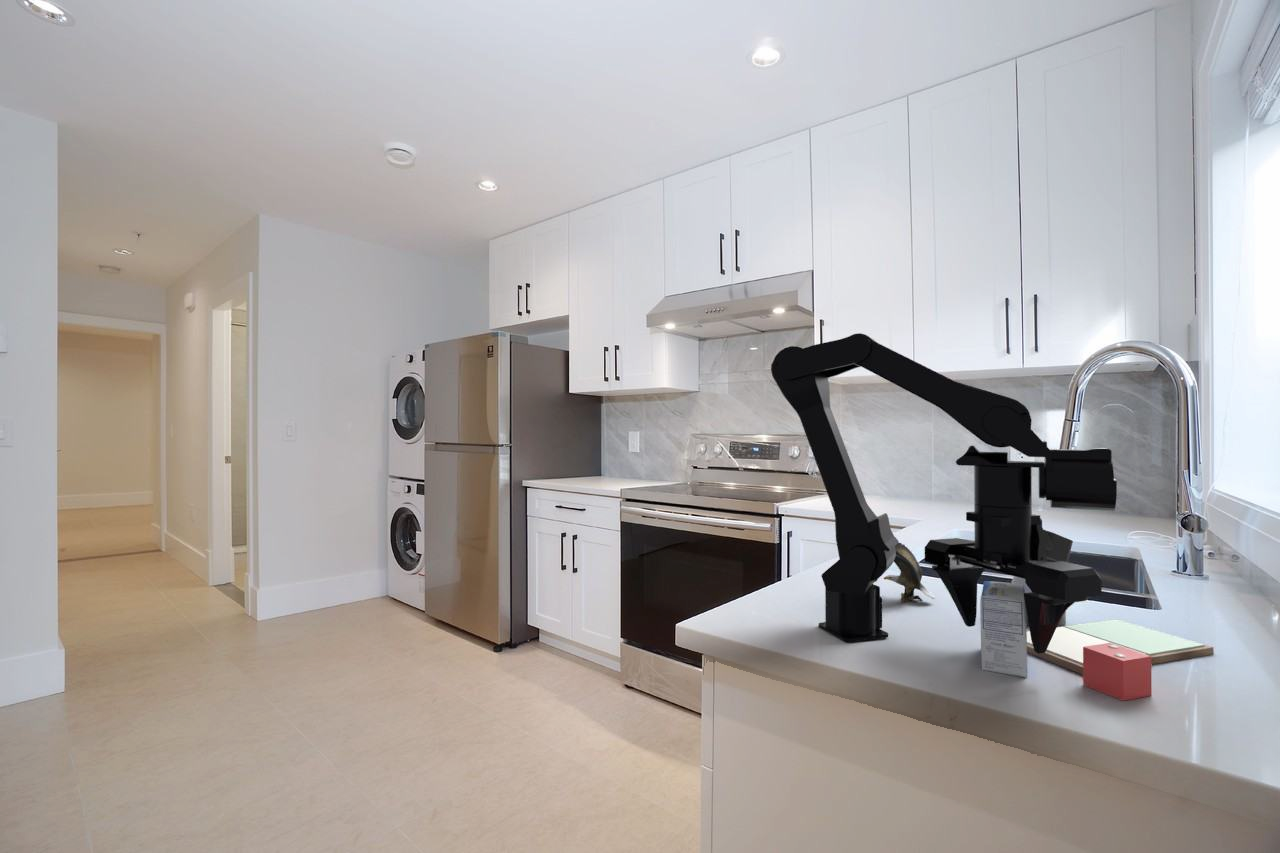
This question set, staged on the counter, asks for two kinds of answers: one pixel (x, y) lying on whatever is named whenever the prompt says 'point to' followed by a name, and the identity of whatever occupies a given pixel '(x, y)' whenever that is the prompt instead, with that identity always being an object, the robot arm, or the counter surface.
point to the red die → (1117, 671)
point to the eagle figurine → (908, 574)
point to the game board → (1144, 640)
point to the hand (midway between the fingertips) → (1003, 638)
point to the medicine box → (1003, 628)
